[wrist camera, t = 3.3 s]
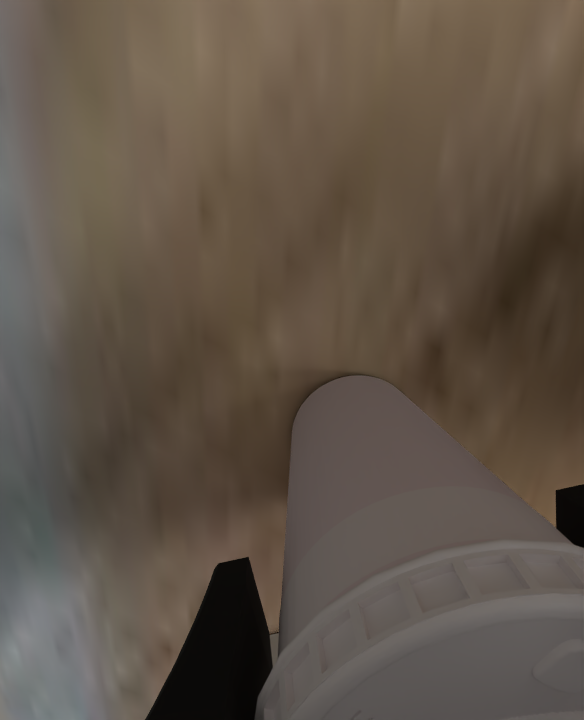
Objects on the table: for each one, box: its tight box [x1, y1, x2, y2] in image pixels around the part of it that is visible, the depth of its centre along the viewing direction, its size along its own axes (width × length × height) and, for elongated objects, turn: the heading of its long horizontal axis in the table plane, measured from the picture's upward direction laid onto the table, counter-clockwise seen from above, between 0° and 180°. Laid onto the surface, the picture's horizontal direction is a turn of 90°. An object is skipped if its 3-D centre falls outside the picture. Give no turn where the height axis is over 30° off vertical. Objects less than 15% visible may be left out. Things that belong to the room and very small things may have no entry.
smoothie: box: [254, 375, 584, 720], centre depth 9 cm, size 6×6×14 cm
